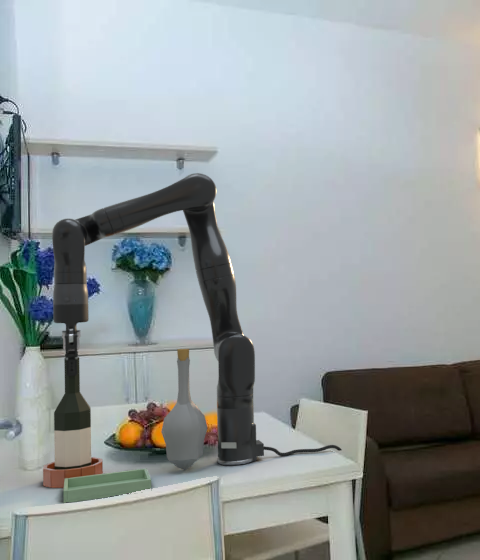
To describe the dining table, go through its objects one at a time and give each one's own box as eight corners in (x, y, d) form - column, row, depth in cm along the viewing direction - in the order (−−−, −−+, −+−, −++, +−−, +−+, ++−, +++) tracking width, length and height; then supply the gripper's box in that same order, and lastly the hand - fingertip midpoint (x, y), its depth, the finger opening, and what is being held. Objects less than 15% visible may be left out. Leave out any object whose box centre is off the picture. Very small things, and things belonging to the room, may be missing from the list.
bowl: (101, 470, 170) (101, 454, 170) (103, 482, 159) (103, 465, 159) (44, 477, 165) (44, 461, 165) (42, 490, 153) (41, 473, 153)
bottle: (155, 469, 170) (153, 349, 171) (199, 461, 177) (197, 346, 178) (169, 478, 161) (167, 351, 162) (215, 470, 168) (213, 348, 169)
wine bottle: (98, 475, 166) (97, 352, 167) (83, 484, 158) (81, 355, 158) (64, 476, 166) (62, 353, 166) (47, 485, 157) (45, 356, 158)
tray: (147, 479, 161) (146, 468, 161) (151, 491, 151) (151, 479, 151) (64, 490, 153) (64, 478, 154) (63, 503, 143) (63, 491, 143)
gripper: (88, 302, 158) (89, 376, 158) (88, 302, 171) (89, 371, 170) (52, 303, 155) (53, 379, 154) (54, 303, 167) (55, 373, 167)
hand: (72, 374), depth 162 cm, fingers closed on wine bottle, 3 cm apart
